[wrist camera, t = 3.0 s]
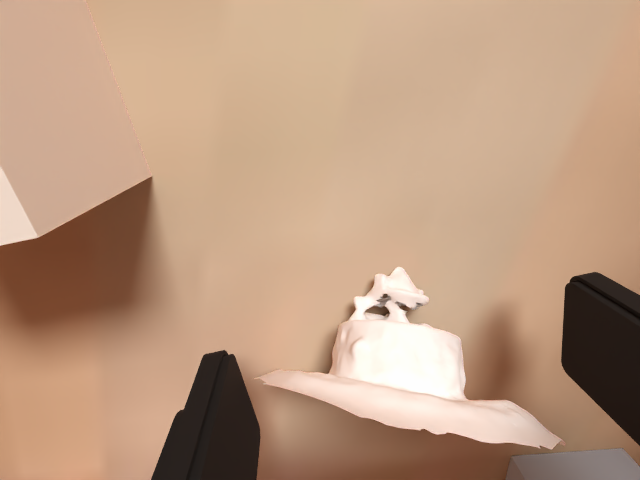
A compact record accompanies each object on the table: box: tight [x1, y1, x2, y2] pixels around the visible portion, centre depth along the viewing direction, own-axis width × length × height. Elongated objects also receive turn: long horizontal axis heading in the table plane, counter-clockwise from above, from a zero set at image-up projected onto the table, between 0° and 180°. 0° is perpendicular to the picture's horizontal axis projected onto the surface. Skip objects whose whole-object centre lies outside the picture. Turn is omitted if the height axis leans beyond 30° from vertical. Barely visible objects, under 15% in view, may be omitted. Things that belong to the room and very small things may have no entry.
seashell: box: [253, 267, 565, 450], centre depth 11 cm, size 8×5×8 cm
